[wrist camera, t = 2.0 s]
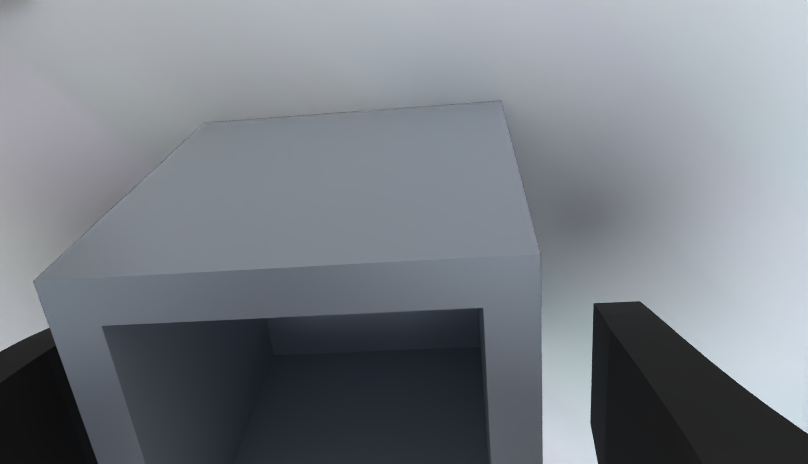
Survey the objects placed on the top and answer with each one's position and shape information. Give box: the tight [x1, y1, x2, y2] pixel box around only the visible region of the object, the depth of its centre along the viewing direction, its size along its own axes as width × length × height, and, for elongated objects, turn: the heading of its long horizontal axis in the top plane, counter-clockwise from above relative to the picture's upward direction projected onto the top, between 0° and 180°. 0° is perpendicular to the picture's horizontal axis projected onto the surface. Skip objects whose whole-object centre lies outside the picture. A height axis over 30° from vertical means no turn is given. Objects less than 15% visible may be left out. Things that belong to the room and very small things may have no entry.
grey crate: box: [33, 101, 543, 464], centre depth 11 cm, size 5×5×6 cm
